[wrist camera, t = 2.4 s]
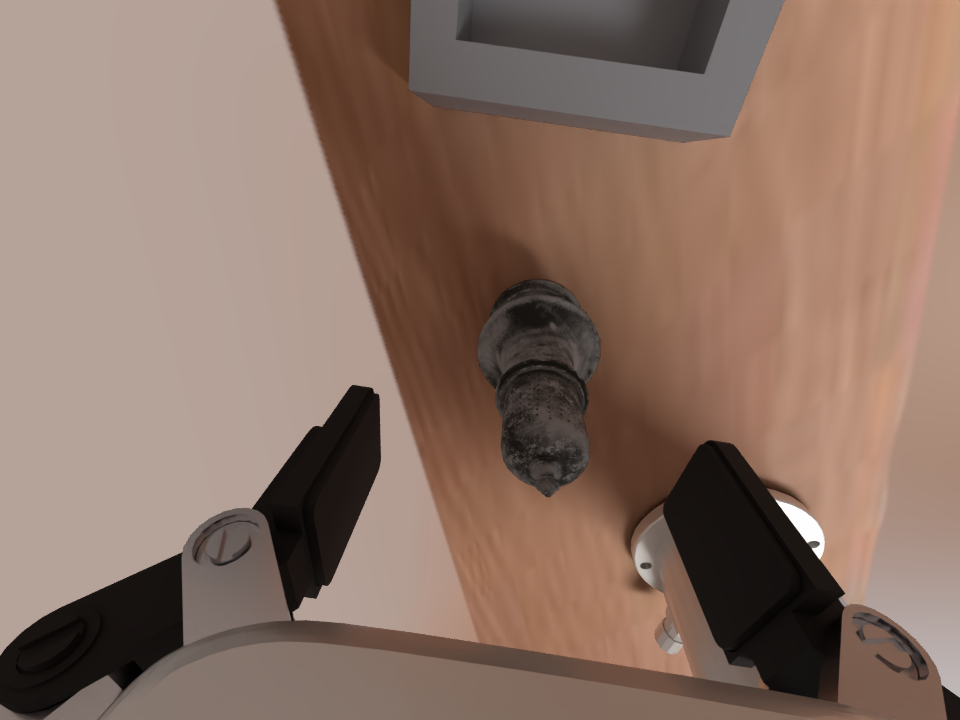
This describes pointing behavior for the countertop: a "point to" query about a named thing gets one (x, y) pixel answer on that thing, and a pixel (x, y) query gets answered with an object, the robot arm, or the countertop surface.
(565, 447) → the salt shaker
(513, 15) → the holder
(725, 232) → the countertop surface
